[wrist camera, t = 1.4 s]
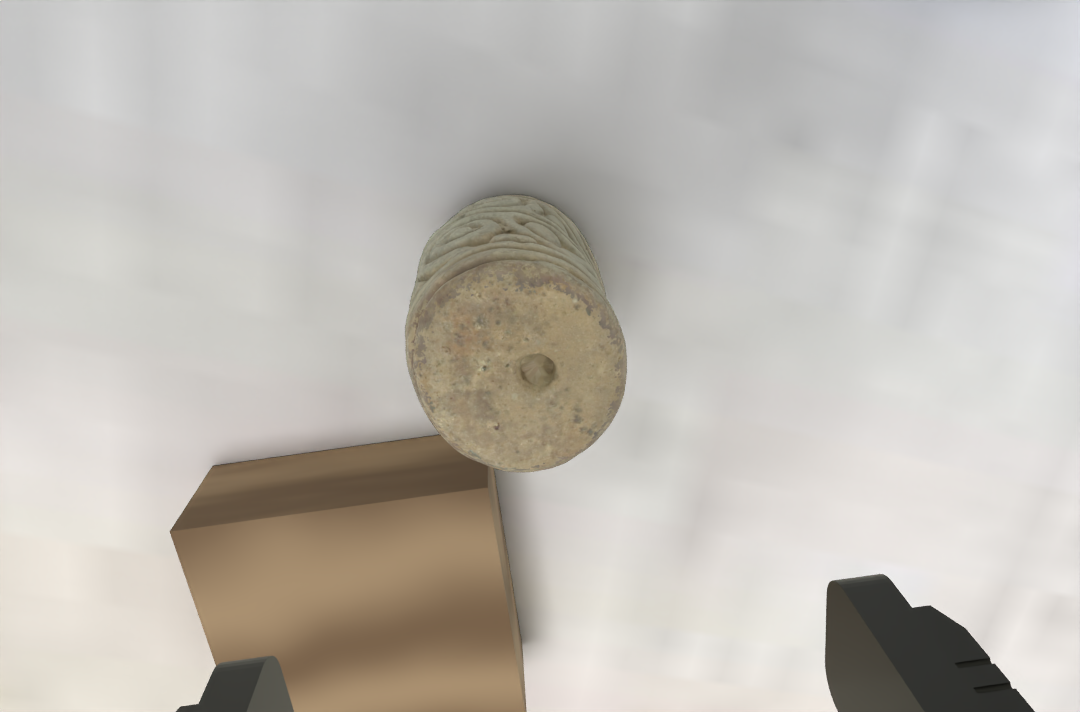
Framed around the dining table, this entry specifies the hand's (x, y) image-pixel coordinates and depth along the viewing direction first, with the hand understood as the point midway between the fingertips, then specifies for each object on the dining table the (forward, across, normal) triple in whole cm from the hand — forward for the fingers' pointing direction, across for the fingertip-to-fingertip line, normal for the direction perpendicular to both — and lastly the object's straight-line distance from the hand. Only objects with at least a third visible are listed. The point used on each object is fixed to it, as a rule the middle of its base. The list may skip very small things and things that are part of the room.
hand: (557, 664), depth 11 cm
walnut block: (+22, +8, +13) cm, 27 cm away
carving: (+22, 0, 0) cm, 22 cm away
